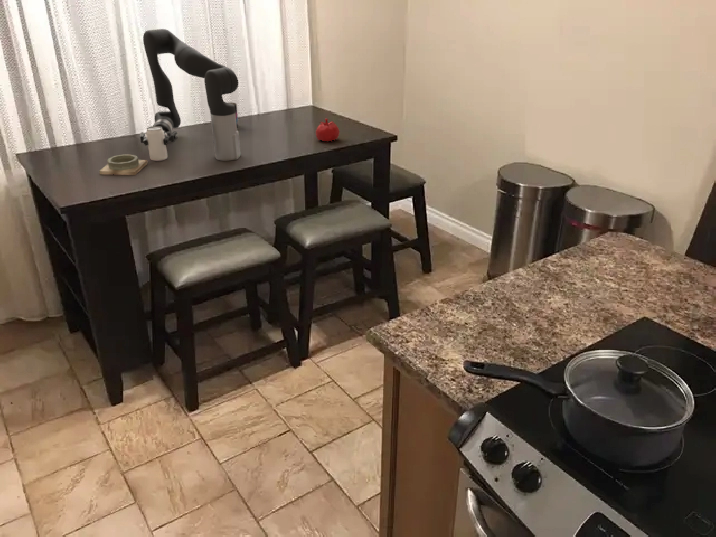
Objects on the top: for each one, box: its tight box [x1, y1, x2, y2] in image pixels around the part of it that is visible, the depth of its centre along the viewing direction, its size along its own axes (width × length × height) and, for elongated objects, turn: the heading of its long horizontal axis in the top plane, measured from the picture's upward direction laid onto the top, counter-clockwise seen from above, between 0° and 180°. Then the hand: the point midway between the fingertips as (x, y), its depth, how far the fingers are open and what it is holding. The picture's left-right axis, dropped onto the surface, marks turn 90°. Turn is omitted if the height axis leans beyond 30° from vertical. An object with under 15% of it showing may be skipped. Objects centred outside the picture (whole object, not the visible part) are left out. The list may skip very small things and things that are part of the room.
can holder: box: [99, 153, 149, 176], centre depth 225 cm, size 13×13×4 cm
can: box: [145, 125, 168, 162], centre depth 233 cm, size 6×6×12 cm
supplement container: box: [228, 101, 239, 128], centre depth 272 cm, size 7×7×10 cm
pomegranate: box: [315, 118, 341, 142], centre depth 256 cm, size 10×10×9 cm
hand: (155, 142), depth 231 cm, fingers closed on can, 6 cm apart
